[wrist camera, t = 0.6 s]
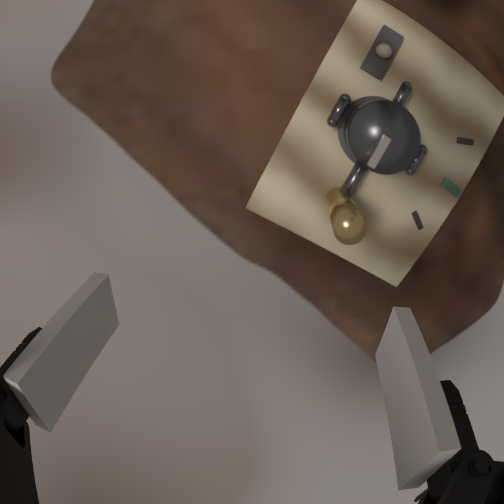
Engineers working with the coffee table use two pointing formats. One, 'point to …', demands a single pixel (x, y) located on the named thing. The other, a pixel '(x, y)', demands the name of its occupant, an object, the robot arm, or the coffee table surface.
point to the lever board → (372, 185)
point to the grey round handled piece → (372, 154)
